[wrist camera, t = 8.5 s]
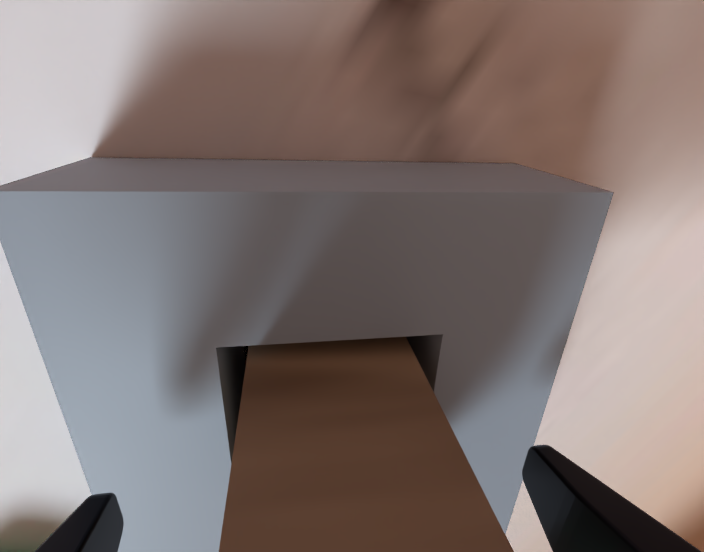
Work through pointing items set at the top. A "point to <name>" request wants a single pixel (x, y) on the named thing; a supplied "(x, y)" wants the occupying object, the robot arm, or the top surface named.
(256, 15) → the top surface
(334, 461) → the square peg
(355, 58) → the top surface
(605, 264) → the top surface
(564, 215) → the socket block
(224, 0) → the top surface
